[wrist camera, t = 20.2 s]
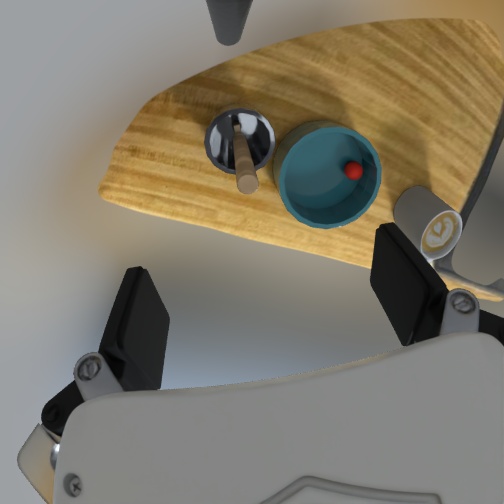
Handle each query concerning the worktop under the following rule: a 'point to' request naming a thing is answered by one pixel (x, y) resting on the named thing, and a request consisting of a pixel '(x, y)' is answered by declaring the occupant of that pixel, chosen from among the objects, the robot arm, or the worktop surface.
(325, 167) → the bowl
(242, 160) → the paddle
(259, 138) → the crock
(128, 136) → the worktop surface
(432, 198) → the coffee mug
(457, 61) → the worktop surface
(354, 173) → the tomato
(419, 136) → the worktop surface
